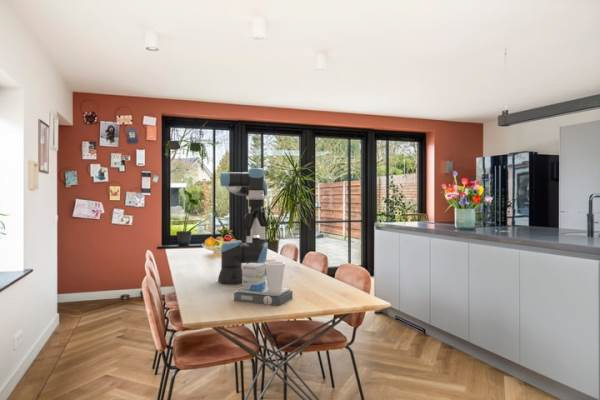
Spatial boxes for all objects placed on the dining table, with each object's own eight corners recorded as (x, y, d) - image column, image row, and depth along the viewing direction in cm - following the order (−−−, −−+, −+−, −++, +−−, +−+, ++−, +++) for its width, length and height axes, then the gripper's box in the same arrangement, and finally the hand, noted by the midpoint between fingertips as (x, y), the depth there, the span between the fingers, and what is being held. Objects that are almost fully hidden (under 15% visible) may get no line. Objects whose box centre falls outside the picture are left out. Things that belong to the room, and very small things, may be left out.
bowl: (281, 271, 272) (281, 257, 272) (263, 276, 256) (263, 261, 256) (257, 268, 283) (257, 254, 283) (238, 273, 266) (238, 258, 266)
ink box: (265, 287, 206) (265, 263, 205) (257, 290, 198) (257, 266, 198) (250, 285, 209) (250, 262, 209) (241, 288, 201) (241, 264, 201)
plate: (236, 291, 199) (236, 289, 199) (250, 286, 211) (250, 284, 211) (278, 296, 191) (278, 294, 191) (289, 290, 203) (289, 288, 203)
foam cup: (285, 292, 195) (285, 264, 195) (265, 292, 194) (266, 265, 193) (283, 287, 204) (283, 261, 204) (264, 288, 203) (264, 261, 203)
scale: (233, 301, 199) (233, 292, 198) (249, 294, 213) (249, 285, 213) (279, 306, 190) (279, 297, 190) (292, 298, 204) (292, 290, 204)
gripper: (250, 200, 197) (250, 244, 197) (273, 198, 220) (273, 238, 221) (236, 199, 199) (236, 243, 200) (261, 197, 222) (260, 237, 223)
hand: (255, 240), depth 210 cm, fingers open, 13 cm apart
